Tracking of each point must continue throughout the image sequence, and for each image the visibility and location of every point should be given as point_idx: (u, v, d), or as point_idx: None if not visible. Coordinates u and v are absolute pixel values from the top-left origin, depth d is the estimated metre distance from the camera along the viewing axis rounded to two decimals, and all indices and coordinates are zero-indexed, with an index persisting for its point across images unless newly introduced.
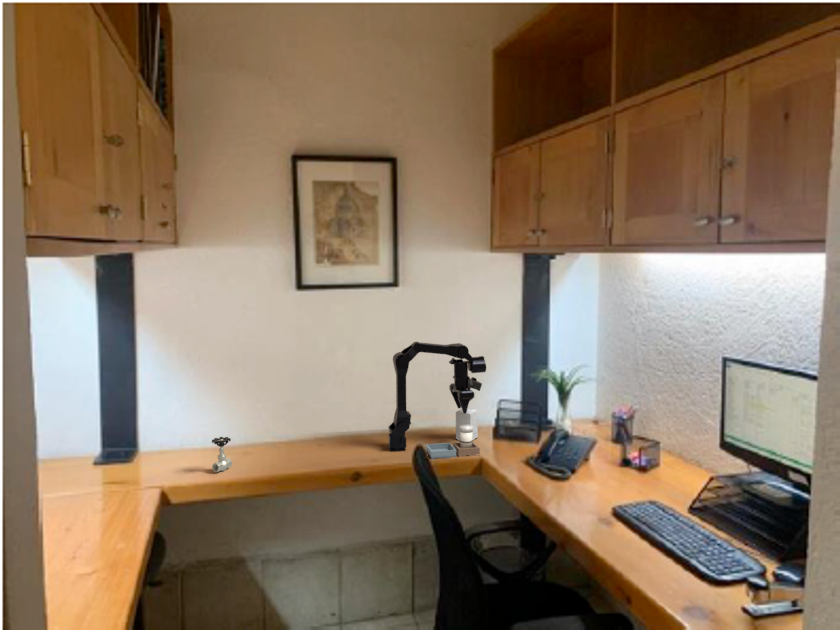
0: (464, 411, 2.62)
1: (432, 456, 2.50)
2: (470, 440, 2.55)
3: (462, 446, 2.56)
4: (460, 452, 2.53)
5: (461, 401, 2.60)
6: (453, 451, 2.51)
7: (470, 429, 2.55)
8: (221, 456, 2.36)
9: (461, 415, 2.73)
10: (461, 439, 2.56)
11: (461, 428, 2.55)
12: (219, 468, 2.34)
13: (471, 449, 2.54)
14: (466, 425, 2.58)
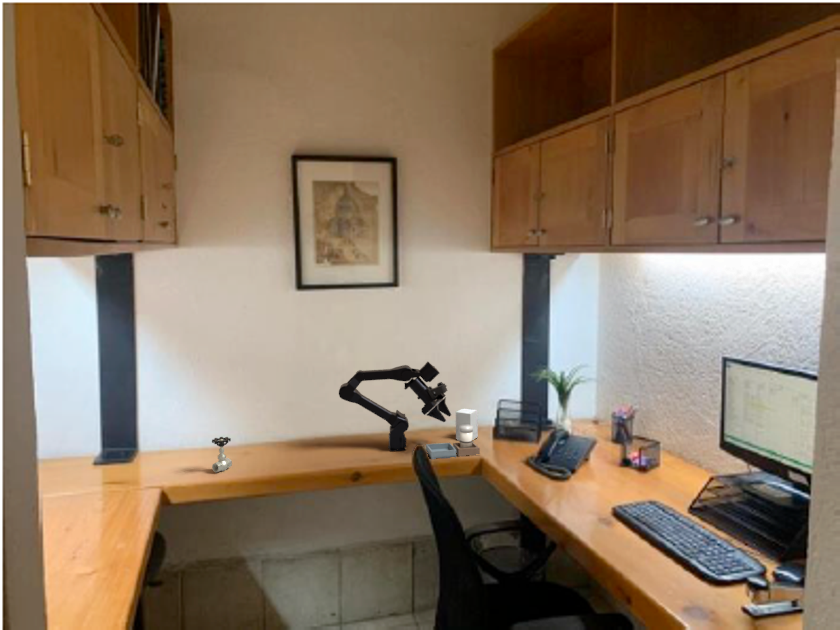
0: (442, 420, 2.54)
1: (432, 456, 2.50)
2: (470, 440, 2.55)
3: (462, 446, 2.56)
4: (460, 452, 2.53)
5: (431, 415, 2.54)
6: (453, 451, 2.51)
7: (470, 429, 2.55)
8: (221, 456, 2.36)
9: (461, 415, 2.73)
10: (461, 439, 2.56)
11: (461, 428, 2.55)
12: (219, 468, 2.34)
13: (471, 449, 2.54)
14: (466, 425, 2.58)
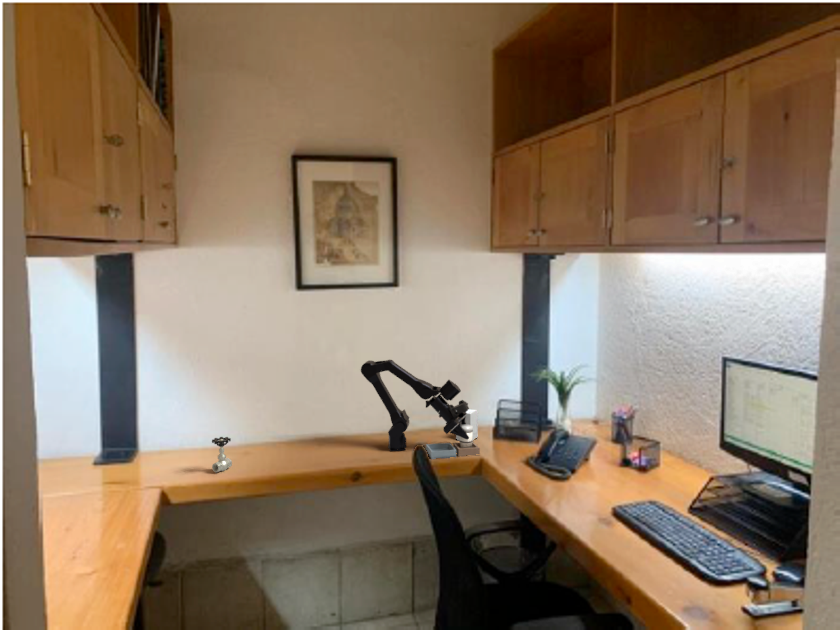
0: (466, 437, 2.54)
1: (432, 456, 2.50)
2: (470, 440, 2.55)
3: (462, 446, 2.56)
4: (460, 452, 2.53)
5: (454, 432, 2.54)
6: (453, 451, 2.51)
7: (470, 429, 2.55)
8: (221, 456, 2.36)
9: None
10: (461, 439, 2.56)
11: None
12: (219, 468, 2.34)
13: (471, 449, 2.54)
14: (466, 425, 2.58)
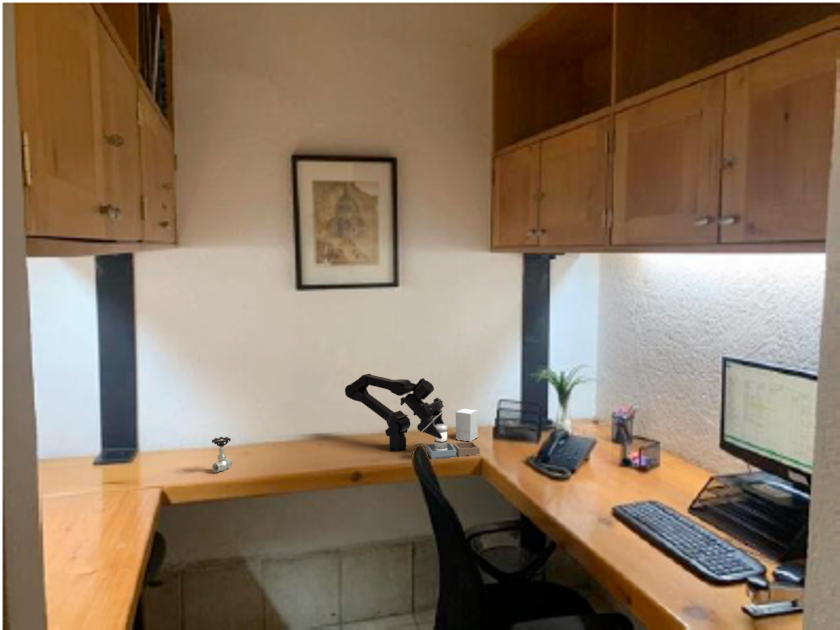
0: (439, 437, 2.50)
1: (432, 456, 2.50)
2: (444, 439, 2.53)
3: (436, 446, 2.53)
4: (460, 452, 2.53)
5: (427, 431, 2.50)
6: (453, 451, 2.51)
7: (444, 429, 2.53)
8: (221, 456, 2.36)
9: (461, 415, 2.73)
10: (435, 439, 2.54)
11: None
12: (219, 468, 2.34)
13: (471, 449, 2.54)
14: (441, 424, 2.55)
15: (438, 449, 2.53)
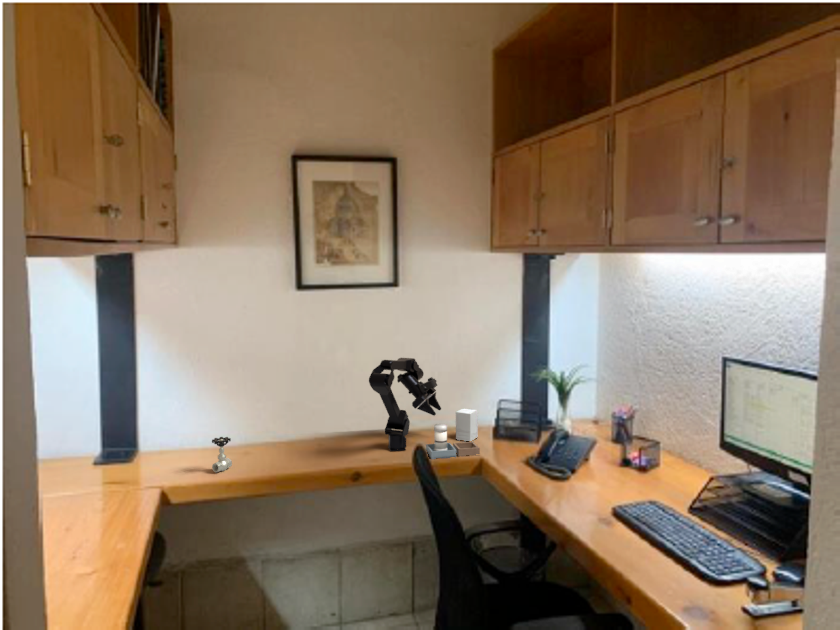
0: (432, 414, 2.64)
1: (432, 456, 2.50)
2: (444, 439, 2.53)
3: (436, 446, 2.53)
4: (460, 452, 2.53)
5: (422, 408, 2.64)
6: (453, 451, 2.51)
7: (444, 428, 2.53)
8: (221, 456, 2.36)
9: (461, 415, 2.73)
10: (435, 439, 2.54)
11: (435, 427, 2.53)
12: (219, 468, 2.34)
13: (471, 449, 2.54)
14: (440, 424, 2.55)
15: (438, 449, 2.53)
